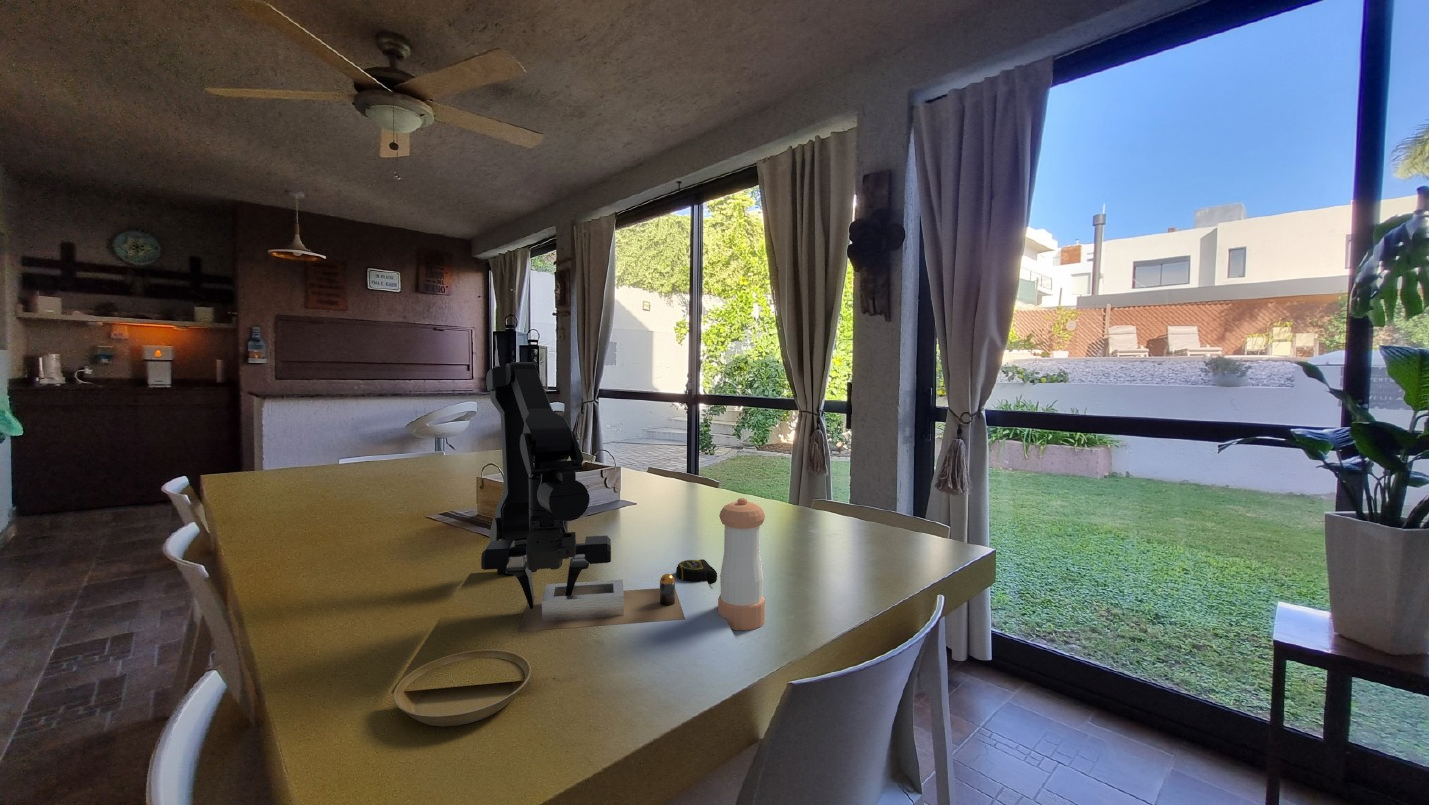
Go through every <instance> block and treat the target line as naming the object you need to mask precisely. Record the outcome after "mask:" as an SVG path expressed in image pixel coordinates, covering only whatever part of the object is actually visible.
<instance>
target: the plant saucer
mask: <svg viewBox="0 0 1429 805" xmlns="http://www.w3.org/2000/svg"><path fill="white" fill-rule="evenodd" d="M479 658H482V659H483V658H488V659H489V658H492V659H502V660H506V661H510V662H512V663H514V664H517V665H518V666H519V667H520V668H521V669H522V670H523V673H524V680H512V681H504V682H501V681H500V682H493V683H481V684H470V685H459V686H448V687H437V688H427V689H415V690H406V688H407V687H408V686H409V685H410V684H411V683H413V682H414V681H415V680H416V679H419V677H421V676H422V675H424V674H426V673H429V672H430V671H432V670H434V669H437V668H440V667H443V666H444V665H448V664H452V663H455V662H460V661H465V660H471V659H472V660H473V659H479ZM531 674H532V667H531V664H530V662H529V661H528V660H527V659H526V658H525V657H524V656H523V655H521V654H519V653H516V652H513V651H509V650H503V649H492V648H491V649H487V648H486V649H476V650H475V649H473V650H468V651H467V650H466V651H461V652H458V653H452V654H449V655H446V656H442V657H440V658H437V659H434V660H431V661H428V662H427V663H425V664H423V665H421V666H419V667H417V668H416V669H414V670H412V671H411V672H409V673H408V674H407V675H406V676H405V677H403V678H402V679H401V680H400V681H399V683H398V684H397V686H396V687H395V688H394V691H393V702H394V704H395V705H396V706H397V707H398V709H400V710H401V711H402V712H403V713H404V714H406V715H407V716H409V717H411V719H414V720H416V721H418V722H420V723H422V724H425V725H429V726H433V727H434V726H435V727H455V726H457V727H458V726H463V725H467V724H471V723H475V722H478V721H481V720H484V719H486V718H488V717H490V716H492V715H494V714H496V713H498V712H499V711H501V710H502V709H503V708H505V707H506V706H507V705H508V704H509V703H510V702H511V701H513V699H514V698H515V697H517V695H518V694H519V693H520V692H521V691H522V689H523V688H524V687H525V685H526V684H527V682H528V681H529V679H530V677H531Z"/></svg>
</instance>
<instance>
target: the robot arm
mask: <svg viewBox="0 0 1429 805" xmlns="http://www.w3.org/2000/svg"><path fill="white" fill-rule="evenodd" d="M540 375H541V374H540V366H539V364H538V363H535V362H531V361H529V362H528V361H511V362H510V363H506V364H505V365H494V366H493V367H492V368H490V369H489V370H488V371H487V373H486V377H485V378H486V379H485V380H486V381H485V382H486V389H487V392H489V396H490V401H491V403H492V404H493V406H494V407H495V408H496V410H497V412H498V413H499V415H500V432H501V434H500V435H501V454H502V456H501V457H502V474H503V475H502V476H503V478H502V479H503V494H502V495H501V498H500V499H499V502H498V503H497V505H496V507H495V517H493V519H492V522H491V526H490V530H489V535H488V537H489V542H488V544H487V545H486V546H485V547H484V549H483V550H482V552H481V558H480V560H481V561H480V562H481V563H480V565H481V566H480V567H481V568H480V569H481V570H483V571H486V570H487V571H489V570H497V572H496V575H498V576H499V575H503V576H506V577H507V576H508V577H515V578H516V579H517V581H518V583H519V584H520V586H521V588H522V589H521V590H522V591H523V594H524V596H525V599H526V601H527V602H526V603H528V604H529V607H530V609H533V607H534V596H535V592H534V590H535V589H534V583H533V582H534V581H533V573H536V572H537V571H538V570H558V569H560V568H561V567H562V566H563V560H565V559H567V560H568V559H569V558H570V560H569V564H568V565H569V566H568V574H567V581H566V583H567V587H566V595H565V596H571V594H572V591H573V588H574V585H575V582H577V580H578V578H579V576H580V573H581V571H582V570H587V569H589V568H590V565H593V564H594V565H596V564H609V563H611V562H612V542H611V541H612V539H611V538H610V537H609V536H608V535H593V536H592V535H590V536H588V535H587V536H585V540H584V543H577V535H576V532H575V531H569V522H572V521H574V520H577V519H579V518H580V517H582V516H583V515H584V514H585V512H586V511H587V510H588V507H589V504H590V499H591V498H590V494H589V491H588V489H587V487H586V485H584V484H583V483H582V482H580V481H579V480H576V479H577V476H576V475H577V474H576V472H581V471H583V469H584V468H583V462H584V456H583V454H582V450H581V446H580V444H579V441H578V439H577V437H576V434H575V432H574V431H573V430H572V428H571V427H570V425H569V423H568V421H567V420H566V418H565V417H563V416H562V415H560V414H558V413H556V412H555V411H554V410H553V408H552V405H551V403H550V400H549V398H548V395H547V392H546V390H545V387H544V385H543V383H542V380H541V377H540ZM569 459H570V460H569Z"/></svg>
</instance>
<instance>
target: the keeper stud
mask: <svg viewBox="0 0 1429 805" xmlns="http://www.w3.org/2000/svg"><path fill="white" fill-rule="evenodd" d="M659 588H660V604H661V605H663V606H671V605H674V604H675V589H676V579H675V577H674V576H673V575H672V574H671V573H664V574H663V575H662V576H660V579H659Z"/></svg>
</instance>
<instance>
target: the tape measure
mask: <svg viewBox="0 0 1429 805" xmlns="http://www.w3.org/2000/svg"><path fill="white" fill-rule="evenodd" d="M675 577H676V578H677V579H678V580H680V581H683V582H688V583H702V582H707V584H708V585H709V586H710V585H712V584H713V585H714V584H715V583H716V582H717V580H718V573H717V570H715V568H714V567H712V566H711V565H710V564H709V562H708V561H706V560H705V559H703V558H702V559H698V560H697V559H686V560H683V561H680V562H679V563H678V565H677V566H676V571H675Z"/></svg>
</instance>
